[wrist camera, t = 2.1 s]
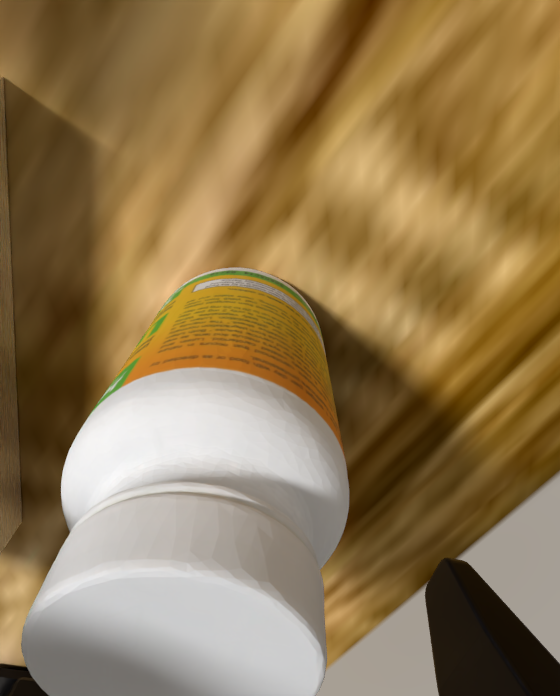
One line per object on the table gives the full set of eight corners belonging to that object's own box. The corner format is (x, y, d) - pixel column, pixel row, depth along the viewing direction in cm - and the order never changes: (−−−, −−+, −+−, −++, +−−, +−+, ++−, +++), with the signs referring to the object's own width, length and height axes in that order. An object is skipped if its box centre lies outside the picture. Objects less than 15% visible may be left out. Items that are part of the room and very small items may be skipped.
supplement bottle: (163, 248, 13) (-81, 487, 4) (339, 280, 13) (446, 559, 5) (152, 398, 15) (-20, 750, 7) (303, 423, 16) (327, 784, 7)
